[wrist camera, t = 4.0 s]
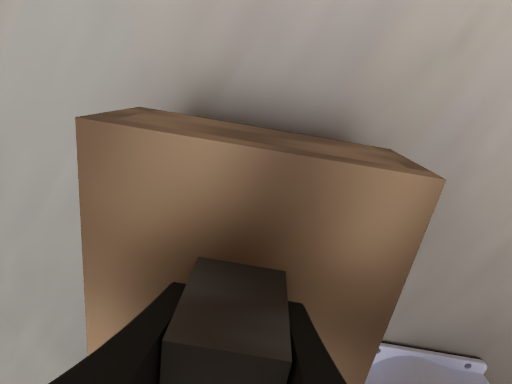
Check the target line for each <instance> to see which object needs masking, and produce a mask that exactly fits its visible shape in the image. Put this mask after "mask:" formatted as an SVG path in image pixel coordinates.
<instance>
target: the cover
mask: <svg viewBox="0 0 512 384" xmlns="http://www.w3.org/2000/svg"><path fill="white" fill-rule="evenodd" d="M75 121H76V140H77V159H78V178H79V198H80V217H81V236H82V255H83V275H84V294H85V313H86V332H87V351H88V356H89V355H90V354H91V353H93V352H94V351H95V350H96V349H98V348H99V347H100V346H101V345H103V344H104V343H105V342H106V341H108V340H109V339H110V338H111V337H113V336H114V335H115V334H116V333H118V332H119V331H120V330H121V329H122V328H124V327H125V326H126V325H127V324H128V323H129V322H130V321H132V320H133V319H134V318H135V317H136V316H137V315H138V314H139V313H141V312H142V311H143V310H144V309H145V308H146V307H147V306H148V305H149V304H150V303H151V302H152V301H153V300H154V299H155V298H157V297H158V296H159V295H160V294H161V293H162V292H163V291H164V290H165V289H166V288H167V286H168V285H169V284H171V283H172V282H178V283H184V284H186V286H185V289H184V291H183V293H182V296H181V298H180V300H179V303H178V305H177V307H176V310H175V312H174V314H173V317H172V319H171V321H170V323H169V326H168V328H167V330H166V333H165V335H164V337H163V340H162V351H161V367H160V382H159V384H286V383H287V379H288V375H289V372H290V368H291V364H292V353H291V339H290V325H289V310H288V301H292V302H298V303H302V304H303V305H304V306H305V308H306V310H307V313H308V315H309V317H310V319H311V321H312V323H313V325H314V327H315V329H316V331H317V333H318V334H319V336H320V338H321V340H322V342H323V344H324V346H325V347H326V349H327V351H328V353H329V354H330V356H331V358H332V360H333V361H334V363H335V365H336V367H337V368H338V370H339V371H340V373H341V375H342V376H343V378H344V380H345V381H346V383H347V384H365V381H366V379H367V376H368V374H369V371H370V369H371V366H372V364H373V361H374V359H375V356H376V354H377V351H378V349H379V346H380V344H381V341H382V339H383V336H384V334H385V331H386V329H387V326H388V324H389V321H390V319H391V316H392V314H393V311H394V309H395V306H396V304H397V301H398V299H399V296H400V294H401V291H402V289H403V286H404V284H405V281H406V279H407V276H408V274H409V271H410V269H411V266H412V264H413V261H414V259H415V256H416V254H417V252H418V249H419V247H420V244H421V242H422V239H423V237H424V234H425V232H426V229H427V227H428V224H429V222H430V219H431V217H432V214H433V212H434V209H435V207H436V204H437V202H438V199H439V197H440V194H441V192H442V189H443V187H444V184H445V182H446V179H444V178H442V177H440V176H438V175H437V174H435V173H433V172H431V171H429V170H427V169H426V168H424V167H422V166H420V165H418V164H416V163H415V162H413V161H411V160H409V159H407V158H405V157H404V156H402V155H400V154H398V153H396V152H394V151H393V150H391V149H386V148H380V147H374V146H368V145H362V144H356V143H350V142H344V141H338V140H332V139H326V138H321V137H315V136H309V135H303V134H297V133H291V132H285V131H279V130H273V129H267V128H261V127H255V126H249V125H244V124H238V123H232V122H226V121H220V120H214V119H208V118H202V117H196V116H190V115H184V114H178V113H172V112H166V111H161V110H155V109H149V108H143V107H136V108H129V109H123V110H117V111H111V112H105V113H99V114H93V115H87V116H80V117H75Z"/></svg>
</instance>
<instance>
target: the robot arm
mask: <svg viewBox="0 0 512 384" xmlns="http://www.w3.org/2000/svg"><path fill="white" fill-rule="evenodd" d="M185 286H186V284H184V283H178V282H172V283H171V284H169V285H168V286H167V288H166V289H165V290H164V291H163V292H162V293H161V294H160V295H159V296H158V297H157V298H155V299H154V300H153V301H152V302H151V303H150V304H149V305H148V306H147V307H146V308H145V309H144V310H143V311H142V312H141V313H139V314H138V315H137V316H136V317H135V318H134V319H133V320H132V321H130V322H129V323H128V324H127V325H126V326H125V327H124V328H122V329H121V330H120V331H119V332H118V333H116V334H115V335H114V336H113V337H111V338H110V339H109V340H108V341H106V342H105V343H104V344H103V345H101V346H100V347H99V348H98V349H96V350H95V351H94V352H93V353H91V354H90V355H89V356H87V357H86V358H85V359H83V360H82V361H80V362H79V363H78V364H76V365H75V366H74V367H72V368H71V369H69V370H68V371H66V372H65V373H64V374H62V375H61V376H59V377H58V378H56V379H55V380H53V381H52V382H50V383H49V384H159V382H160V367H161V351H162V340H163V337H164V335H165V333H166V330H167V328H168V326H169V323H170V321H171V319H172V317H173V314H174V312H175V310H176V307H177V305H178V303H179V300H180V298H181V296H182V293H183V291H184V289H185ZM288 310H289V325H290V339H291V353H292V364H291V368H290V372H289V375H288V379H287V383H286V384H347V383H346V381H345V380H344V378H343V376H342V375H341V373H340V371H339V370H338V368H337V367H336V365H335V363H334V361H333V360H332V358H331V356H330V354H329V353H328V351H327V349H326V347H325V346H324V344H323V342H322V340H321V338H320V336H319V334H318V333H317V331H316V329H315V327H314V325H313V323H312V321H311V319H310V317H309V315H308V313H307V310H306V308H305V306H304V305H303V304H302V303H298V302H292V301H288ZM486 369H487V365H486V364H485V362H484V361H483V360H480V359H474V358H468V357H462V356H456V355H450V354H444V353H439V352H433V351H427V350H421V349H415V348H409V347H403V346H397V345H392V344H386V343H381V344H380V346H379V349H378V351H377V354H376V356H375V359H374V361H373V364H372V366H371V369H370V371H369V374H368V376H367V379H366V381H365V384H490V383H489V382H488V381H487V379H486V378H485V376H484V373H485V371H486Z"/></svg>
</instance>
